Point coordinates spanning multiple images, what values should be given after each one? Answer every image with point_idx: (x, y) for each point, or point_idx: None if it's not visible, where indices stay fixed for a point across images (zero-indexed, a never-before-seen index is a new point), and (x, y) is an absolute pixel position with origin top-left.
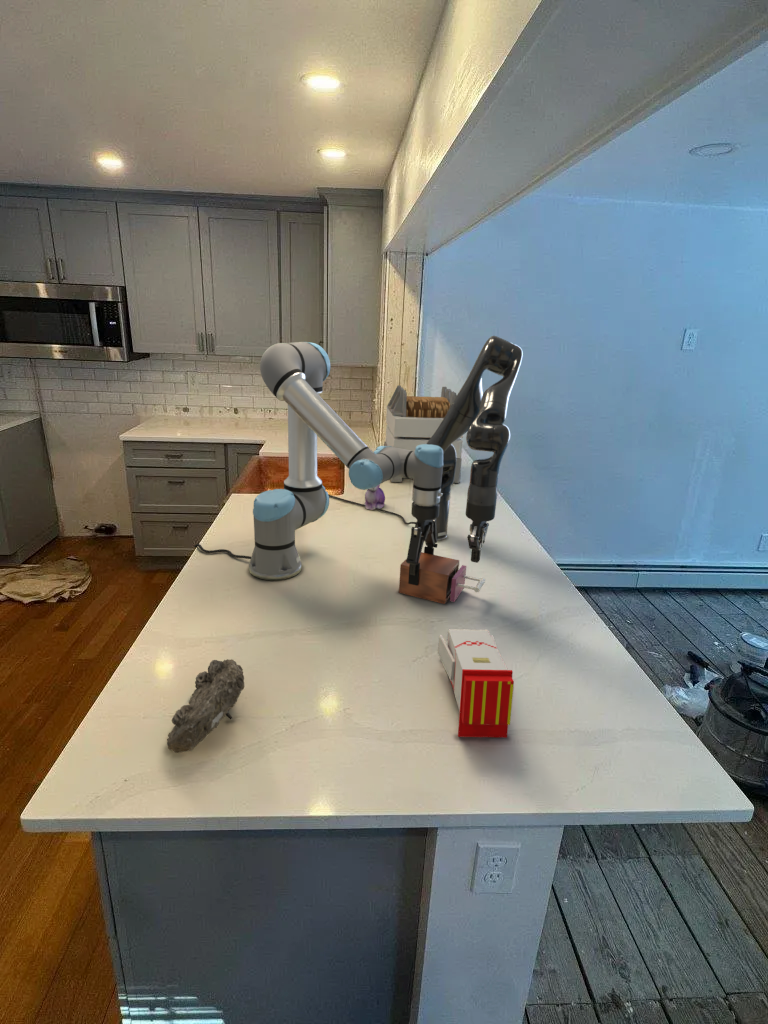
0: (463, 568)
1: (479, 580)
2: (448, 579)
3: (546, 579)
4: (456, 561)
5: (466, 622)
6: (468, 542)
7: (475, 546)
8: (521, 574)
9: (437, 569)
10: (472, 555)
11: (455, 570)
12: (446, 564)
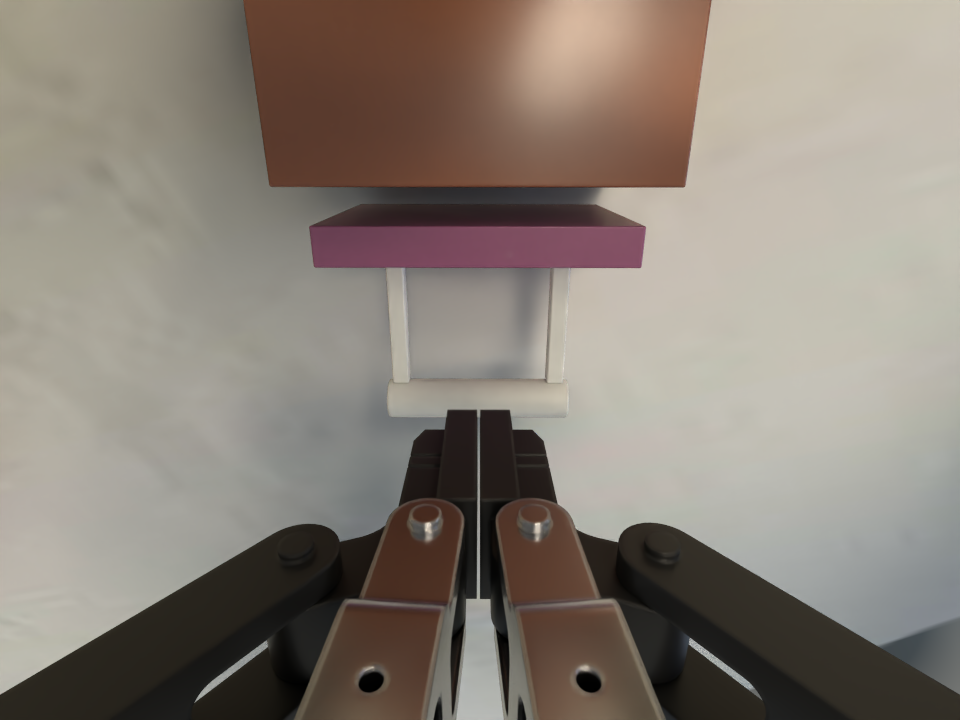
0: (571, 259)
1: (545, 379)
2: None
3: (896, 588)
4: (642, 165)
5: (228, 351)
6: (24, 687)
7: (271, 659)
8: (933, 478)
9: (333, 26)
10: (408, 472)
11: None
12: (513, 83)
